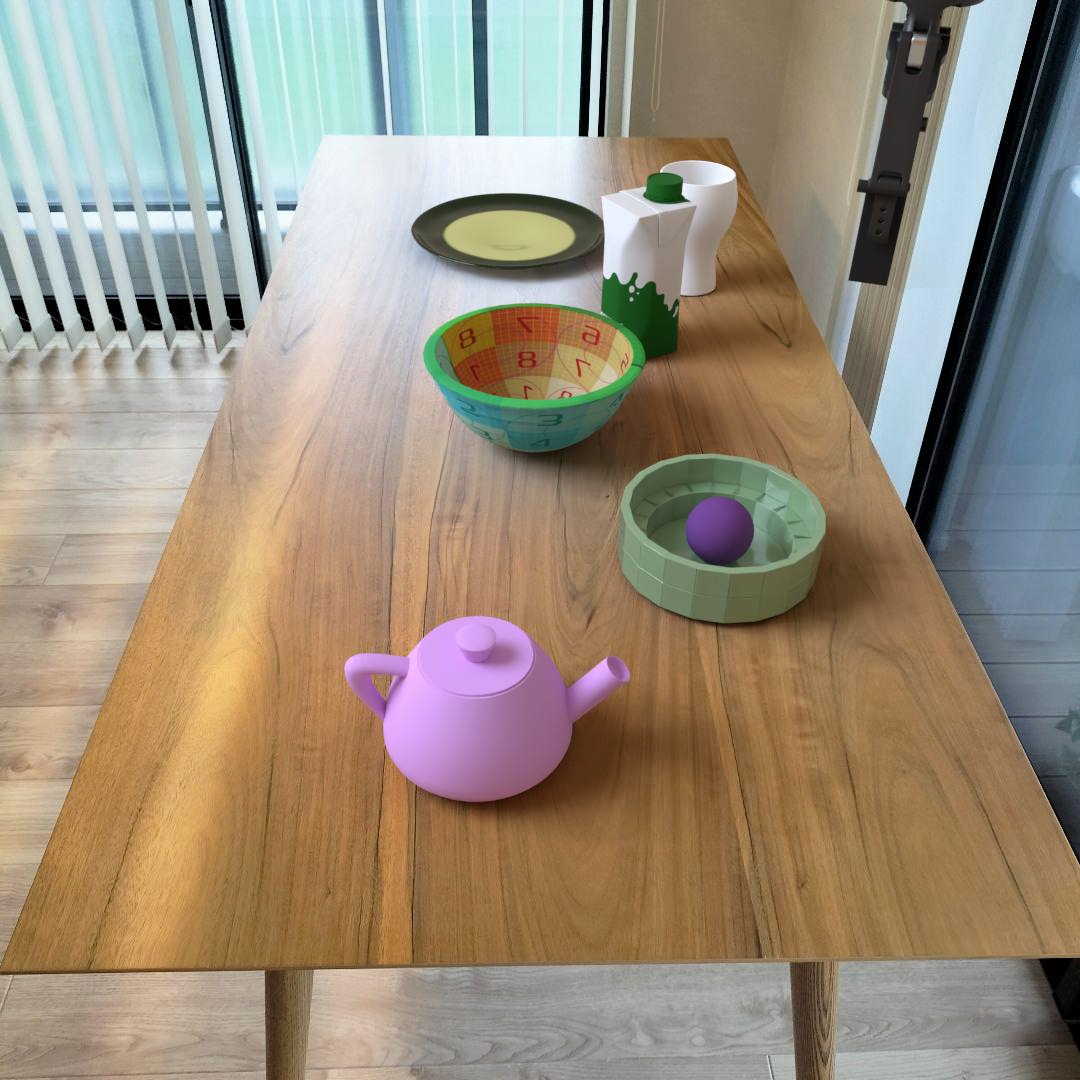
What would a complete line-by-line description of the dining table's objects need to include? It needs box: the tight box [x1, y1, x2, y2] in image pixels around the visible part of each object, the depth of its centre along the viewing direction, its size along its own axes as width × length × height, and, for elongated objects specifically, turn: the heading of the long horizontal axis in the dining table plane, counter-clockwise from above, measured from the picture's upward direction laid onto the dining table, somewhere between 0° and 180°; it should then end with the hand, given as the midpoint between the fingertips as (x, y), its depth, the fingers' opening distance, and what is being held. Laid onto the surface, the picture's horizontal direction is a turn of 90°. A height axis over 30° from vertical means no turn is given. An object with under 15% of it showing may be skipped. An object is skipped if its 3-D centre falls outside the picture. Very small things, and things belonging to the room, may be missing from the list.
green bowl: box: [616, 453, 827, 624], centre depth 96 cm, size 18×18×6 cm
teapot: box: [343, 615, 631, 803], centre depth 77 cm, size 14×20×11 cm
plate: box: [410, 192, 605, 271], centre depth 155 cm, size 28×28×2 cm
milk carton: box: [599, 172, 697, 360], centre depth 125 cm, size 9×9×20 cm
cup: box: [659, 160, 739, 297], centre depth 141 cm, size 11×11×15 cm
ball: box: [686, 497, 754, 564], centre depth 95 cm, size 6×6×6 cm
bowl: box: [422, 302, 646, 454], centre depth 111 cm, size 22×22×10 cm
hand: (874, 246), depth 83 cm, fingers open, 13 cm apart
